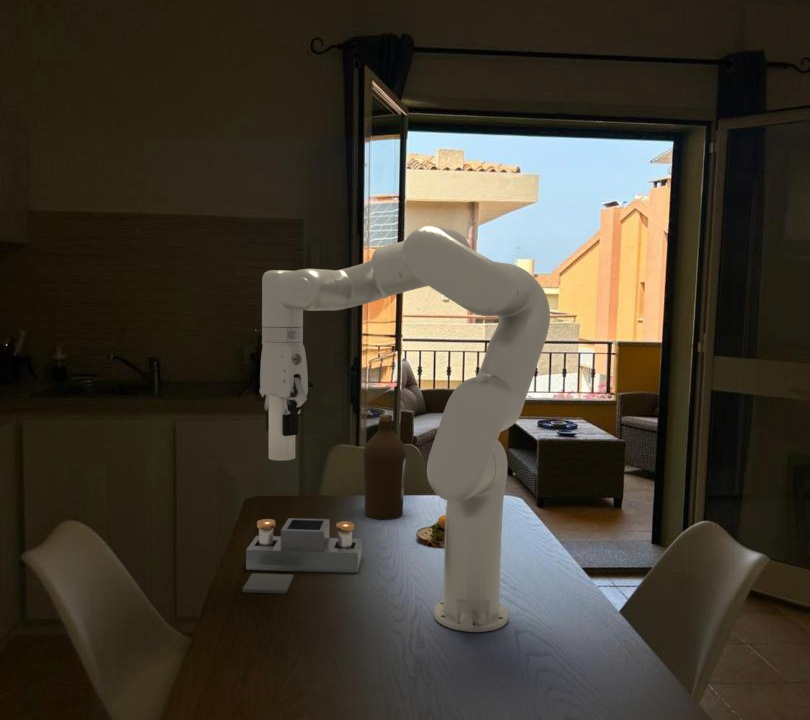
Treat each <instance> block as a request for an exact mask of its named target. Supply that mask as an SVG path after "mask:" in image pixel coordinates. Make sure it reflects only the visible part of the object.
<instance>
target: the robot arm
mask: <svg viewBox="0 0 810 720" xmlns="http://www.w3.org/2000/svg"><path fill="white" fill-rule="evenodd" d="M261 281H262V283H261V285H262V286H261V287H262V288H261V290H262V291H261V292H262V295H261V297H262V298H261V300H262V301H261V302H262V303H261V308H262V309H261V320H262V321H261V326H262V327H261V330H262V332H261V337H262V338H261V344H262V346H261V347H262V349H261V354H260V355H261V357H260V366H259V367H260V371H259V372H260V374H259V381H260V382H259V385H260V388H259V393H260V395H261V397H262V401H263V403H264V410H265V431H266V432H268V433H269V395H273V396H278V397H280V398H283V405H284V412H285V414H283V415H282V435H283V436H291V435H295V436H297V435H299V425H300V424H299V415H300V413H301V409H302V407H303V405H304V403H306V401H307V400H308V397H307V396H308V391H309V387H308V386H309V382H308V381H309V379H308V378H309V377H308V362H307V355H306V350H305V349H306V348H305V345H304V343H303V342H304V341H303V339H304V337H303V336H304V335H303V333H304V332H303V331H304V329H303V328H304V311H310V312H311V311H315V312H317V311H319V312H320V311H341V310H346V309H350V308H354V307H358V306H361V305H362V306H363V305H366V304H370V303H373V302H377V301H380V300H382V299H386V298H387V299H388V297H391V296H394V295H395V296H396V295H398V294H404V293H407V292H409V291H414V290H417V289H422V288H424V287H425V288H426V287H430V288H431V289H433V291H434V290H435V291H436V292H437V293H440V294H441V295H442V296H444V297H446V298H447V299H449V300H450V301H452V302H453V303H454V304H457V305H458V306H460V307H462V308H463V309H465V310H467V311H468V312H471V313H472V314H475V315H478V316H483V317H498V321H497V322H498V323H497V326H496V328H495V330H494V333H493V334H492V337H491V338H490V341H489V343H488V345H487V348H486V351H485V356H484V358H483V361H482V363H481V365H480V368H479V371H478V372H477V374H476V376H475V377H471V378H468V379H466V380H465V381H463V382H461V383H460V384H458V386H456V388H455V389H454V390H453V392H452V393H451V394H450V396H449V398H448V400H447V403H446V405H445V407H444V410H443V413H442V415H441V419H440V421H439V424H438V428H437V431H436V434H435V437H434V440H433V443H432V446H431V449H430V451H429V455H428V459H427V464H426V476H427V481H428V483H429V486H430V488H431V490H432V491H433V492H434V493H435V495H436V496H438V497H439V498H441V499H442V500H444V501H446V504H445V505H446V507H445V508H446V509H445V515H446V520H445V547H444V552H443V553H444V555H443V556H444V557H443V558H444V561H443V594H442V595H443V598H442V600H441V601H439V602H438V603H437V604H435V605H434V608H433V616H434V617H433V618H434V619H435V620H436V621H437V622H438V624H441V625H442V626H444V627H446V628H449V629H452V630H455V631H460V632H468V633H469V632H470V633H482V632H483V633H484V632H485V633H486V632H491V631H495V630H498V629H500V628H503V626H505V625H507V622H508V620H509V611H508V610H507V608H506V607H505V606H504V605H502V604H501V603H500V592H501V589H500V588H501V587H500V586H501V584H500V583H501V557H502V556H501V554H502V529H503V512H504V511H503V509H504V498H505V490H506V484H507V479H508V477H507V476H508V458H507V457H508V456H507V453H506V449H505V448H504V445H502V443H501V441H499V437H500V434H501V432H504V431H506V430H507V429H509V428H510V427H512V426H514V424H515V423H516V422H517V421H518V420H519V418H520V416H521V415H522V411H523V408H524V406H525V403H526V399H527V396H528V393H529V390H530V387H531V384H532V381H533V379H534V376H535V373H536V371H537V367H538V364H539V360H540V357H541V354H542V352H543V349H544V346H545V343H546V340H547V337H548V333H549V329H550V321H551V311H550V310H551V309H550V305H549V301H548V297H547V294H546V292H545V290H544V288H543V286H542V285H541V284H540V283H539V281H538V280H537V279H536V278H535V277H534V276H533V275H532V274H531V273H530V272H528V271H527V270H526V269H524V268H523V267H520V266H518V265H515V264H511V263H506V262H500V261H499V262H498V261H494V260H491V259H489V258H488V257H486V256H484V255H482V254H481V253H479V252H477V251H475V250H473V248H472V247H471V245H470V243H469V242H468V240H467V239H466V237H465V236H464V235H462V234H461V233H459V232H458V231H456V230H453V229H449V228H445V227H441V226H437V225H425V226H421V227H419V228H416V229H415V230H413V231H412V232H411V233H409V234H408V236H407V237H406V238H405V239H404V240H402V241H399V242H395V243H391V244H388V245H384V246H381V247H378V248H376V249H375V250H374V251H373V253H372V257H371V259H370V260H368V261H366V262H363V263H360V264H357V265H353V266H350V267H346V268H342V269H336V270H333V269H321V268H303V269H297V270H284V269H278V270H277V269H275V270H274V269H271V270H267V271H266V272H264V273H263V275H262V280H261ZM291 394H293V397H290V395H291ZM289 401H292V403H291V404H290V405H289Z"/></svg>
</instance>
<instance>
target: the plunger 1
mask: <svg viewBox="0 0 810 720" xmlns="http://www.w3.org/2000/svg"><path fill="white" fill-rule="evenodd" d="M256 526H257V527H256V528H258V536H259V546H273V536H274V528H275V527H276V520H275V519H272V518H264V519H259V520H257V521H256Z"/></svg>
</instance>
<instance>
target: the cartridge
mask: <svg viewBox="0 0 810 720" xmlns="http://www.w3.org/2000/svg"><path fill="white" fill-rule="evenodd" d="M290 397H293V394H291V395H290ZM291 403H292V401H289V405H290V404H291ZM283 414H285V412H284V405H283V398H280V397H278V396H273V395H269V432H268V459H269V460H271V461H291V460H295V459H296V435H291V436H283V435H282V415H283Z"/></svg>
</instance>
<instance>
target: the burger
mask: <svg viewBox="0 0 810 720" xmlns="http://www.w3.org/2000/svg"><path fill="white" fill-rule="evenodd" d="M445 520H446V514H444V515H440V517H438V520H437V521H436V522H435V523H433V524H432V525H430V526H425V527H422V528H419V529H418V530H417V531H416V533H415V534H416V537H417V538H418V539H419V540H420V541H419V542H420V545H422V546H426V547H429V543H431V545H432V546H433V547H434V548H435V549H440V548H441V549H444V548H445Z"/></svg>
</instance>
